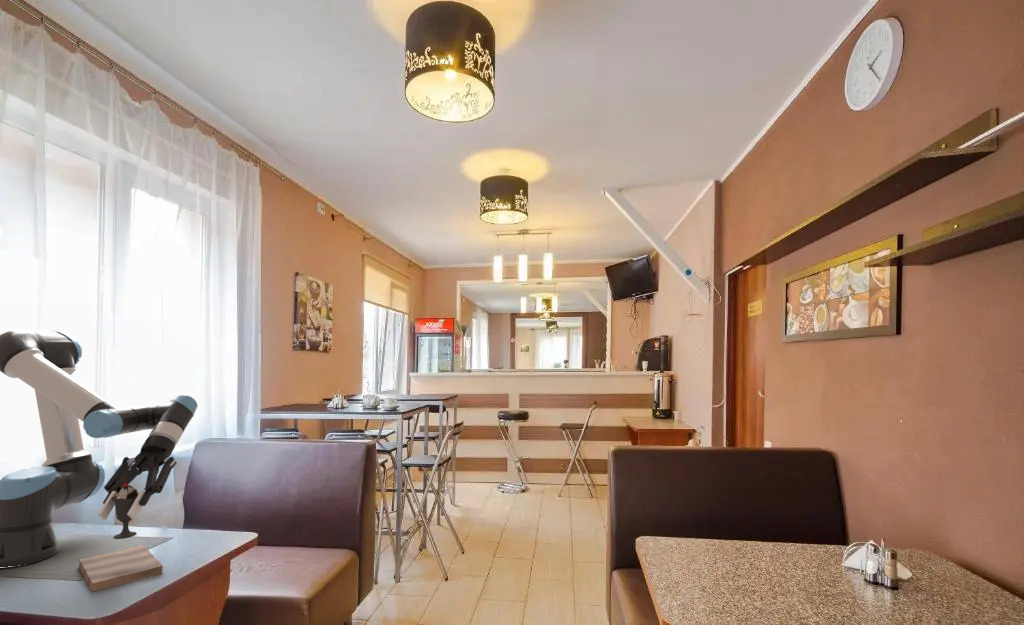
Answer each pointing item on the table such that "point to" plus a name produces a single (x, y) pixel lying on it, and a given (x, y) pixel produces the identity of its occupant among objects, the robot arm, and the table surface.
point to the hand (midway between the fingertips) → (116, 516)
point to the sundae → (125, 508)
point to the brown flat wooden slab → (119, 567)
